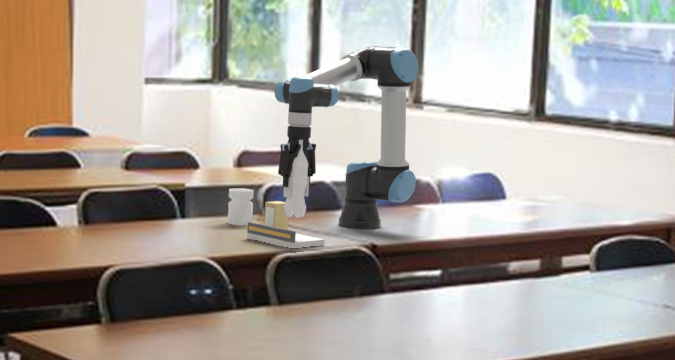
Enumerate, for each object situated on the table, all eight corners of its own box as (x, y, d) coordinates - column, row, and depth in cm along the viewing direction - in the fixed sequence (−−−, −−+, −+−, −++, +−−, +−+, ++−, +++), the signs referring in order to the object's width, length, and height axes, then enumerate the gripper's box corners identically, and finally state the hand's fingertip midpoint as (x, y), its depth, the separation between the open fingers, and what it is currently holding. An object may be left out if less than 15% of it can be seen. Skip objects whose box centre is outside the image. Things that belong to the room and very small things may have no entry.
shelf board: (278, 235, 433) (279, 219, 432) (324, 245, 417) (325, 228, 417) (246, 238, 423) (247, 222, 422) (291, 249, 407) (292, 232, 407)
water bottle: (281, 217, 413) (284, 139, 411) (286, 214, 420) (290, 137, 418) (302, 218, 412) (306, 141, 409) (307, 215, 419) (311, 139, 416)
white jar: (251, 226, 450) (252, 192, 449) (226, 224, 450) (227, 190, 449) (253, 222, 459) (254, 189, 458) (228, 221, 459) (230, 187, 458)
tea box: (277, 230, 430) (278, 201, 429) (287, 232, 427) (289, 203, 425) (263, 232, 426) (265, 202, 425) (273, 234, 422) (275, 204, 421)
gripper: (313, 124, 423) (310, 193, 425) (268, 124, 409) (264, 196, 411) (329, 126, 417) (326, 196, 420) (284, 127, 403) (280, 199, 406)
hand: (295, 196), depth 416 cm, fingers closed on water bottle, 7 cm apart
